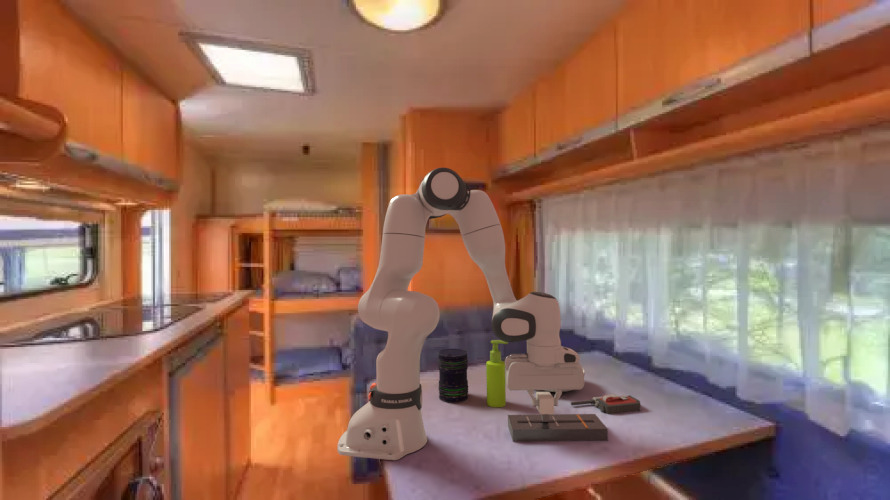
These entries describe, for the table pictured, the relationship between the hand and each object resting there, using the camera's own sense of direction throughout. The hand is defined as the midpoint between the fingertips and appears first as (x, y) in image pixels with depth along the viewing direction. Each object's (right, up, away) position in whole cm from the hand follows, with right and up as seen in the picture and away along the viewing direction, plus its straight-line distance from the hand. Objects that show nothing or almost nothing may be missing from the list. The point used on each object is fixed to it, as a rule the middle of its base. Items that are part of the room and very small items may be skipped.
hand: (544, 405), depth 106 cm
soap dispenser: (-10, -8, +20) cm, 24 cm away
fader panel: (+3, -7, 0) cm, 8 cm away
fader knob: (0, -4, 0) cm, 4 cm away
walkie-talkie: (+23, -7, +15) cm, 28 cm away
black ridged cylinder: (-24, -8, +26) cm, 36 cm away
